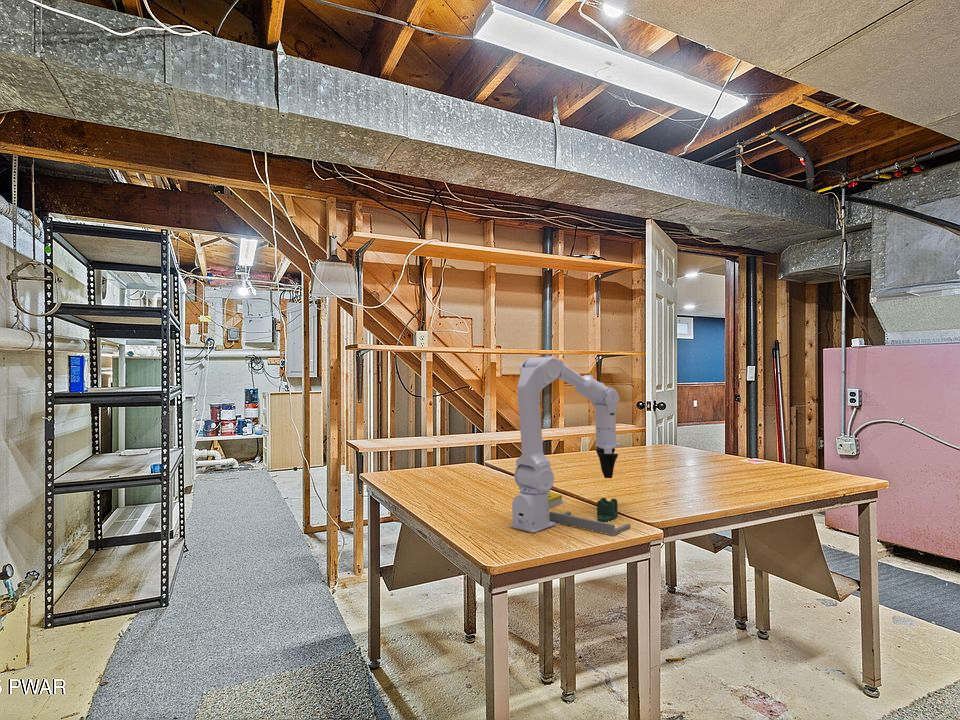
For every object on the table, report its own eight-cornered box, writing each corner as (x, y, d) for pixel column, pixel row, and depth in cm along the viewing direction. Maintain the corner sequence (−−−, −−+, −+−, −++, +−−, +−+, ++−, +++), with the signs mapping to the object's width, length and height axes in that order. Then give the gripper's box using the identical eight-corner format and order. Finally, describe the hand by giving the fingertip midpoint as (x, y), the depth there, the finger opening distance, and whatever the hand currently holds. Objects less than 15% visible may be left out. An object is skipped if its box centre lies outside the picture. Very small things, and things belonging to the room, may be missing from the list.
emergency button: (513, 494, 152) (542, 485, 163) (513, 509, 151) (542, 499, 163) (539, 499, 145) (567, 489, 157) (539, 514, 145) (567, 504, 157)
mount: (610, 524, 133) (609, 505, 133) (593, 522, 135) (593, 503, 136) (620, 514, 143) (620, 496, 143) (605, 512, 145) (604, 494, 145)
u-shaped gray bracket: (612, 536, 123) (612, 525, 123) (549, 521, 136) (549, 512, 136) (630, 528, 129) (630, 518, 129) (567, 514, 142) (567, 505, 142)
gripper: (622, 430, 141) (624, 480, 140) (617, 425, 155) (618, 470, 154) (596, 430, 142) (597, 480, 141) (593, 425, 156) (594, 470, 156)
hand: (607, 475), depth 148 cm, fingers open, 7 cm apart
